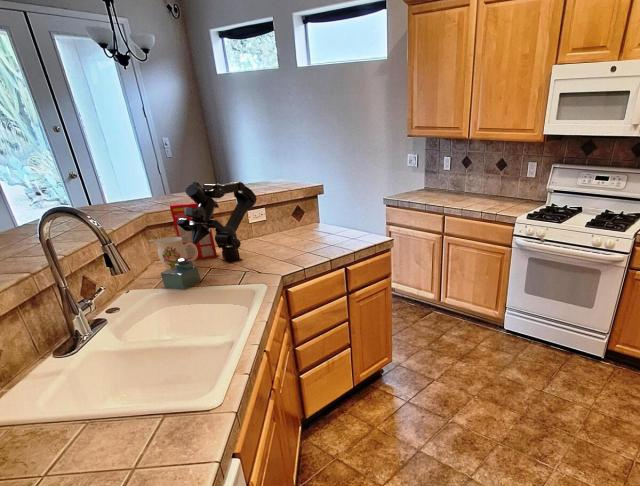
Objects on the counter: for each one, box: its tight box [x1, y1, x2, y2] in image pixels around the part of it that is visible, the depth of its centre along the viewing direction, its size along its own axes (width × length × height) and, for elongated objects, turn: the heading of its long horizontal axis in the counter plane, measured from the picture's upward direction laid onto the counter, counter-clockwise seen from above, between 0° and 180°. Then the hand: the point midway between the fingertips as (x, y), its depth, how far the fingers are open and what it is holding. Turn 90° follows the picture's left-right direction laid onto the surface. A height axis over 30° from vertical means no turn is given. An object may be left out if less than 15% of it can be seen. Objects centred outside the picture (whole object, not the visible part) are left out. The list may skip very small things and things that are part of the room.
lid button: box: [178, 258, 189, 265], centre depth 170 cm, size 4×4×2 cm
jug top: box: [160, 261, 201, 291], centre depth 170 cm, size 11×9×8 cm
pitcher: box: [147, 236, 198, 271], centre depth 186 cm, size 11×18×14 cm, turn 112°
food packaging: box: [169, 201, 218, 261], centre depth 199 cm, size 15×5×25 cm, turn 115°
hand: (194, 243), depth 175 cm, fingers closed
